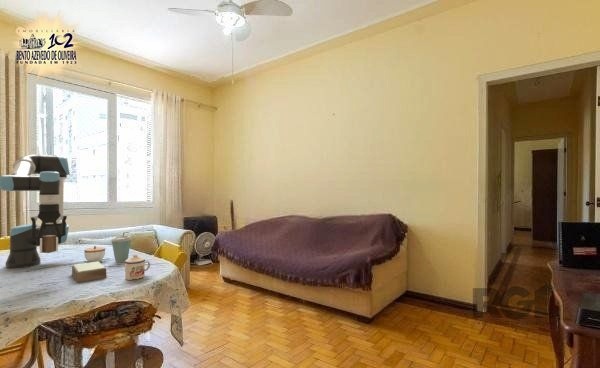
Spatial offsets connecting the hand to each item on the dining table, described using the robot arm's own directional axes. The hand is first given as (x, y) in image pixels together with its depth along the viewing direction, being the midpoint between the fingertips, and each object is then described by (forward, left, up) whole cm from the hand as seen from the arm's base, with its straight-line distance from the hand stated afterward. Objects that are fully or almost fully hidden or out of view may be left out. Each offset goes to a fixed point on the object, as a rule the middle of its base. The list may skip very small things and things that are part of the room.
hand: (48, 251), depth 147 cm
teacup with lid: (+20, +34, -15) cm, 42 cm away
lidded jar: (-32, +24, -15) cm, 42 cm away
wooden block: (0, 0, -1) cm, 1 cm away
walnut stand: (+1, +16, -15) cm, 22 cm away
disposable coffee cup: (-22, +36, -15) cm, 45 cm away
